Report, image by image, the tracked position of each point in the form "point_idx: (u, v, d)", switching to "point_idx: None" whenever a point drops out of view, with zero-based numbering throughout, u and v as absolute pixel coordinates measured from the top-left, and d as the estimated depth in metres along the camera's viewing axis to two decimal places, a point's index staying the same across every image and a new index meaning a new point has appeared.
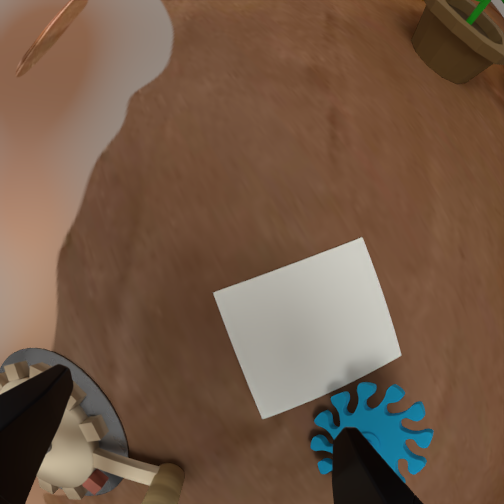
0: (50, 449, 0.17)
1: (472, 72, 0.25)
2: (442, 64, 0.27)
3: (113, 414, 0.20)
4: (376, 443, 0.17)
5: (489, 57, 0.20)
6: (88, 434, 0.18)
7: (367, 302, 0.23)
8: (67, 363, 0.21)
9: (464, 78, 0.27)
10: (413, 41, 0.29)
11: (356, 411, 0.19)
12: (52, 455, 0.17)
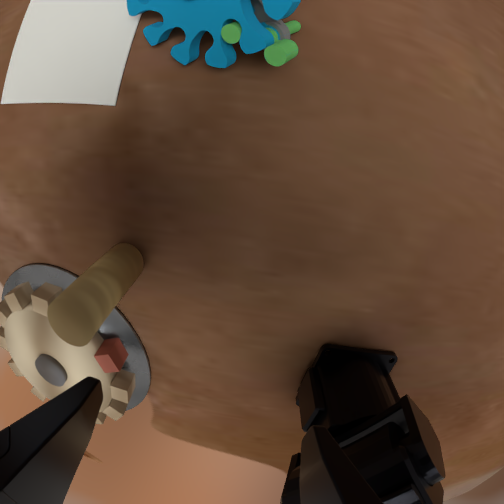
0: (60, 366, 0.18)
1: None
2: None
3: (51, 269, 0.18)
4: None
5: None
6: (42, 309, 0.17)
7: None
8: (10, 280, 0.19)
9: None
10: None
11: None
12: (69, 371, 0.19)
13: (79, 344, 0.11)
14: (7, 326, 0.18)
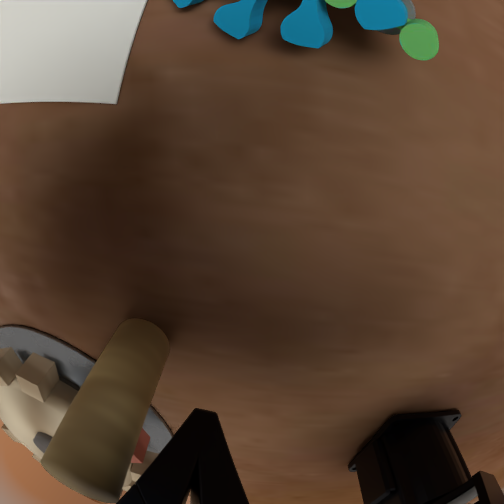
0: None
1: None
2: None
3: (39, 337, 0.13)
4: None
5: None
6: (32, 392, 0.11)
7: None
8: None
9: None
10: None
11: None
12: None
13: (100, 500, 0.05)
14: None
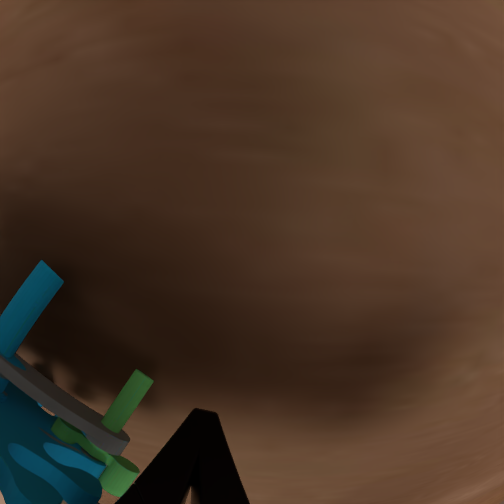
0: None
1: None
2: None
3: None
4: None
5: None
6: None
7: None
8: None
9: None
10: None
11: None
12: None
13: None
14: None
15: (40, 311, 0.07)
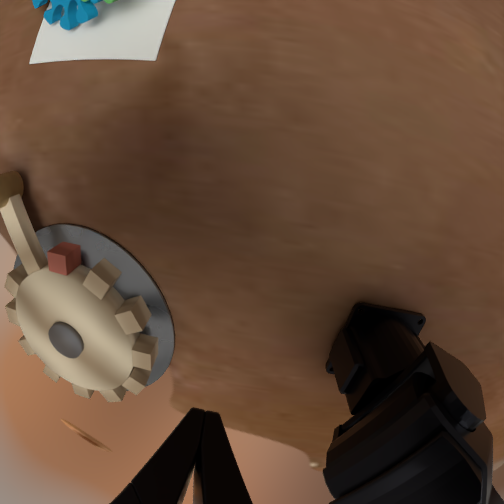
0: (60, 322, 0.18)
1: None
2: None
3: (73, 228, 0.18)
4: None
5: None
6: (13, 286, 0.17)
7: None
8: None
9: None
10: None
11: None
12: (67, 319, 0.18)
13: None
14: (32, 346, 0.19)
15: None
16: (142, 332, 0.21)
